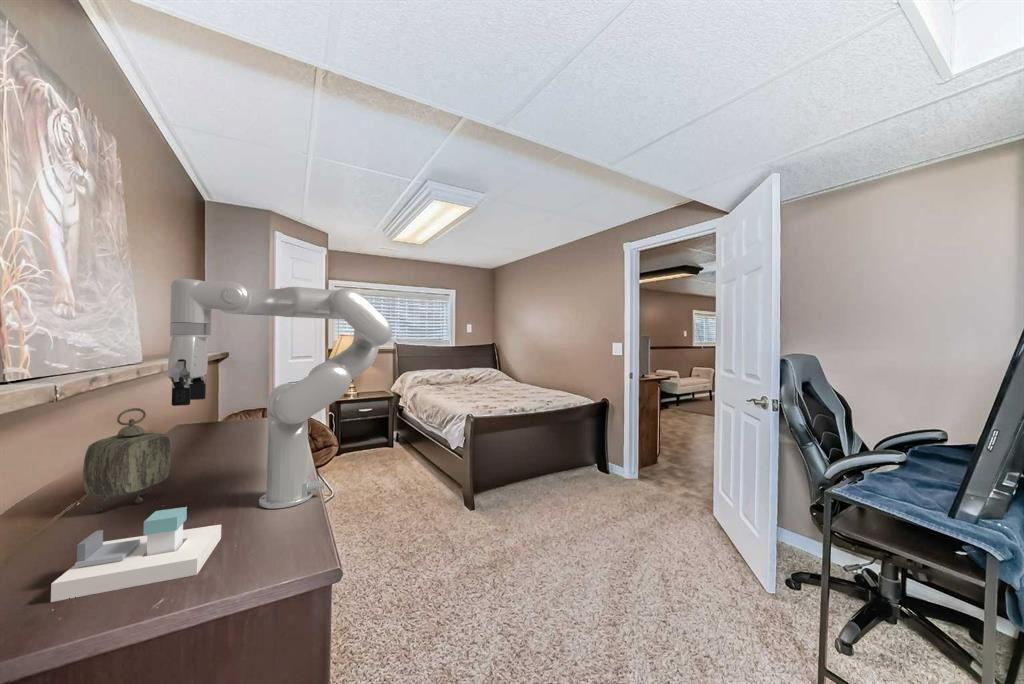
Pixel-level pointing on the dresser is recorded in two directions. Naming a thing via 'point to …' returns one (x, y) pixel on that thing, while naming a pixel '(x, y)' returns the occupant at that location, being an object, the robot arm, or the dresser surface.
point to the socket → (139, 566)
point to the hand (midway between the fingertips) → (189, 402)
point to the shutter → (102, 550)
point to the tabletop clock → (126, 462)
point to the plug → (165, 530)
